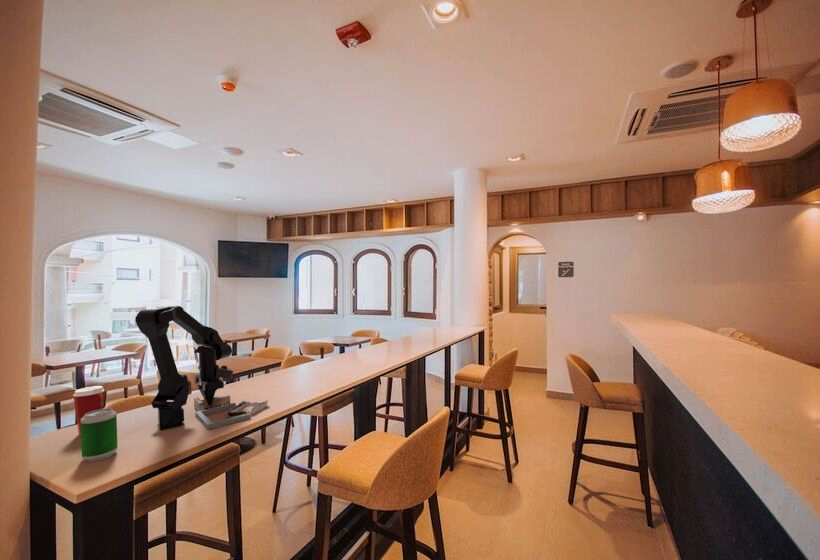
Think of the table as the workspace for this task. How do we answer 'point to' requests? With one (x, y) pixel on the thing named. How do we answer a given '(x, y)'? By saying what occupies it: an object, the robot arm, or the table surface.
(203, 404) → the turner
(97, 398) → the paper cup
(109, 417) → the soda can
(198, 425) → the table surface
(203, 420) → the tile frame
